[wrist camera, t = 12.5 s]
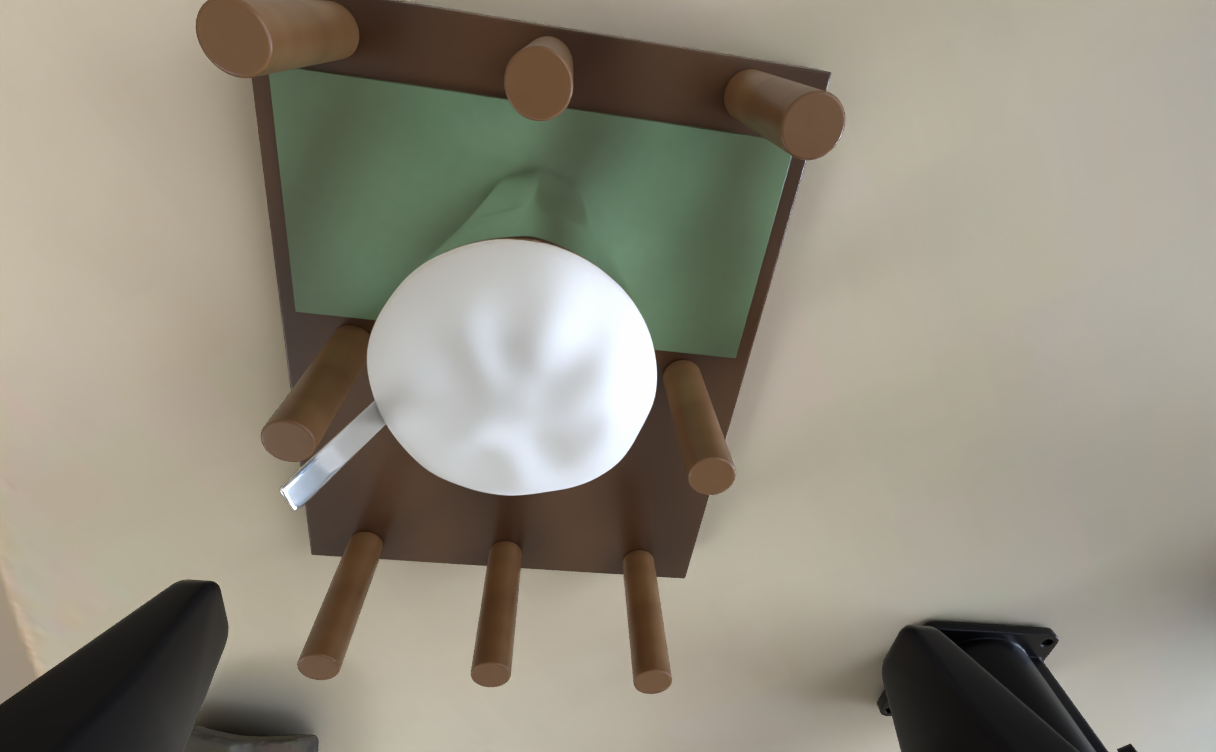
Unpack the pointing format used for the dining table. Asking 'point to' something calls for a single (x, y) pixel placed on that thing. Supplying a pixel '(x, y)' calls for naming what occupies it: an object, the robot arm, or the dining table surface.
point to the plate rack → (444, 200)
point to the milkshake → (507, 353)
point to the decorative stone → (247, 742)
